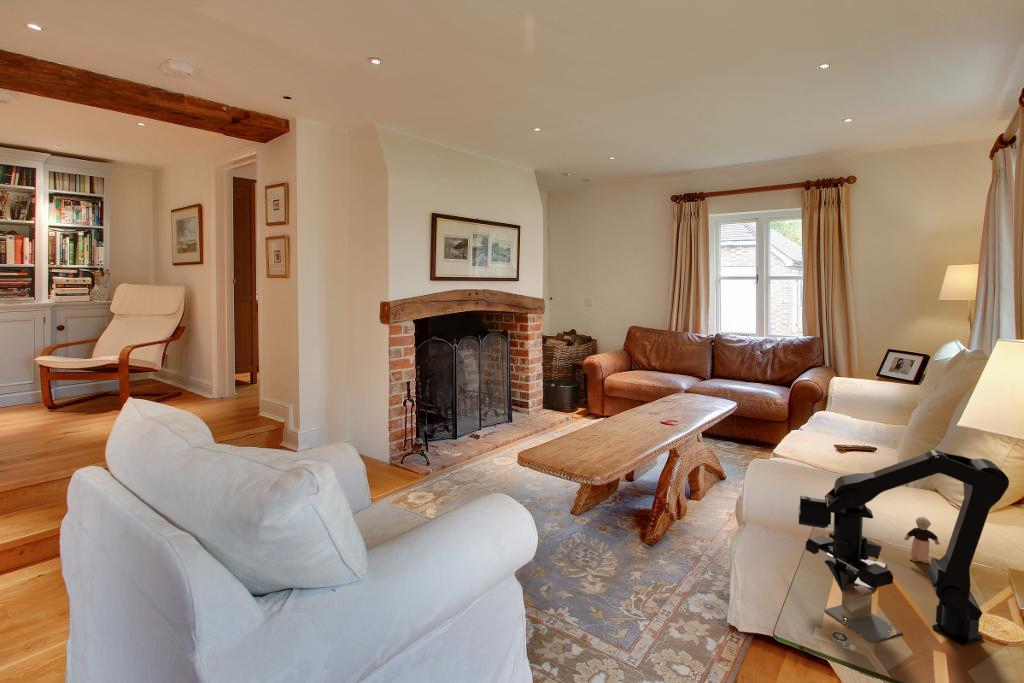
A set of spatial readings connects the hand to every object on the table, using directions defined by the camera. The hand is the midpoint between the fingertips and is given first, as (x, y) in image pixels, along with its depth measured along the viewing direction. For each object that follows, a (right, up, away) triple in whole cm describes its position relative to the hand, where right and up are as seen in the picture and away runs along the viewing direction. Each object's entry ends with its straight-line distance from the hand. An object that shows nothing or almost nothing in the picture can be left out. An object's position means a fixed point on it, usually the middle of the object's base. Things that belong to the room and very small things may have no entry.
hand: (845, 593), depth 127 cm
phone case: (+14, -2, +15) cm, 21 cm away
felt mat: (+1, -4, -4) cm, 6 cm away
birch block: (+1, -4, -2) cm, 5 cm away
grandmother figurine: (+34, -1, +20) cm, 39 cm away
